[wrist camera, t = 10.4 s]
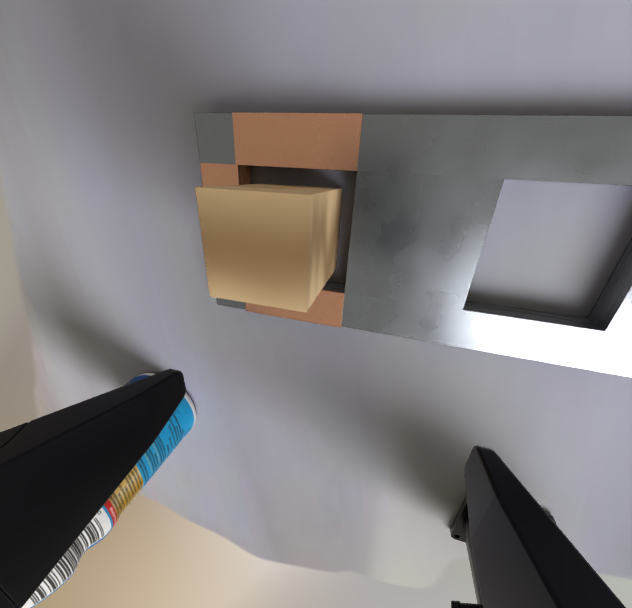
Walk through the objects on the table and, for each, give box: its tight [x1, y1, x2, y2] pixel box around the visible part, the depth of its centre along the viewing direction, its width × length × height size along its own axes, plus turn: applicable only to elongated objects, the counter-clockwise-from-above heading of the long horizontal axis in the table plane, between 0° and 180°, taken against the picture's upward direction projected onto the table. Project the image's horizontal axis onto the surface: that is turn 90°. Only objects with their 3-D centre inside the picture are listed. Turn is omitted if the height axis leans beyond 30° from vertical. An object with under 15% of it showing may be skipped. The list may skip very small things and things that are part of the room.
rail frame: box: [194, 112, 632, 378], centre depth 16 cm, size 12×26×2 cm, turn 87°
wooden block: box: [195, 184, 343, 312], centre depth 15 cm, size 5×5×7 cm
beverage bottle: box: [22, 373, 196, 608], centre depth 21 cm, size 8×8×20 cm
